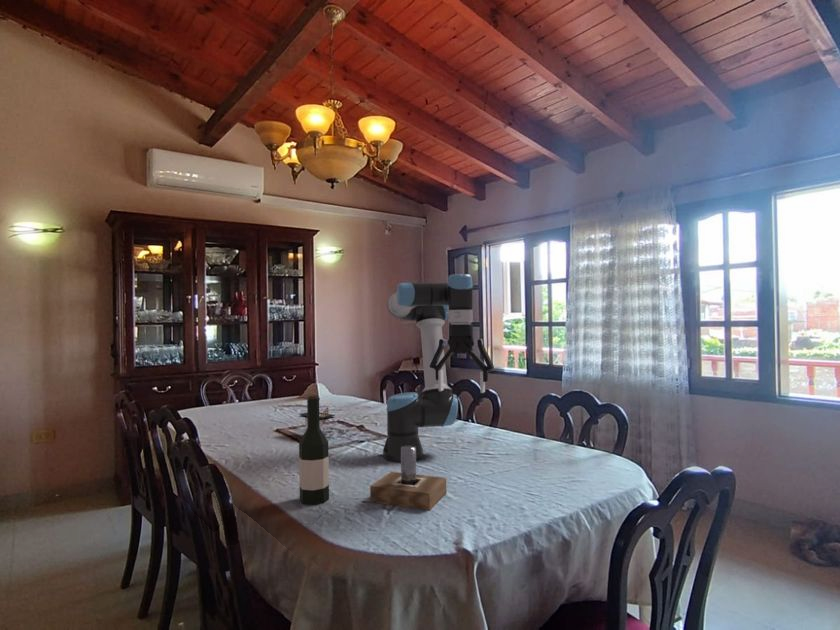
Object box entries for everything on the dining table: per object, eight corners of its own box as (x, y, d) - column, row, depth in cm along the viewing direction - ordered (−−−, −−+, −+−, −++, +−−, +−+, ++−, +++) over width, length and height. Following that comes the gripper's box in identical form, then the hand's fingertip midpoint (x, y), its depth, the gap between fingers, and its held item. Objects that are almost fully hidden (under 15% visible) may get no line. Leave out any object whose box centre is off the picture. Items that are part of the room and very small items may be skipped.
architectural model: (368, 437, 223) (367, 405, 223) (317, 451, 201) (317, 415, 201) (316, 427, 245) (316, 397, 245) (266, 438, 224) (265, 406, 224)
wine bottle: (301, 495, 150) (300, 393, 150) (330, 494, 151) (329, 393, 151) (297, 505, 142) (296, 398, 142) (327, 504, 143) (326, 397, 143)
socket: (370, 501, 144) (370, 485, 144) (391, 486, 157) (391, 471, 157) (429, 510, 138) (429, 492, 138) (446, 493, 151) (446, 477, 151)
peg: (398, 497, 146) (398, 448, 146) (404, 492, 151) (404, 444, 150) (413, 499, 145) (412, 450, 145) (418, 494, 149) (418, 446, 149)
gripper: (419, 324, 161) (420, 391, 161) (497, 323, 151) (498, 395, 151) (427, 323, 167) (428, 388, 167) (502, 323, 158) (503, 391, 158)
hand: (461, 391), depth 159 cm, fingers open, 13 cm apart
